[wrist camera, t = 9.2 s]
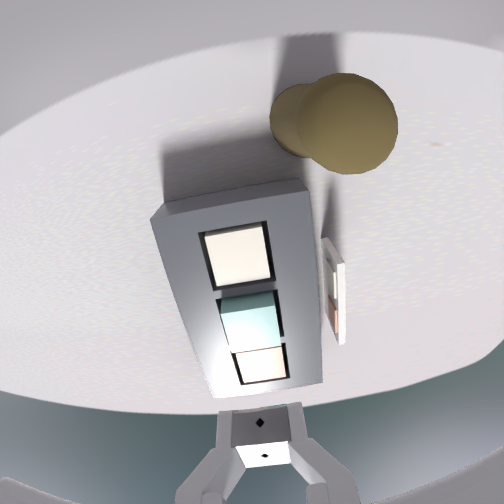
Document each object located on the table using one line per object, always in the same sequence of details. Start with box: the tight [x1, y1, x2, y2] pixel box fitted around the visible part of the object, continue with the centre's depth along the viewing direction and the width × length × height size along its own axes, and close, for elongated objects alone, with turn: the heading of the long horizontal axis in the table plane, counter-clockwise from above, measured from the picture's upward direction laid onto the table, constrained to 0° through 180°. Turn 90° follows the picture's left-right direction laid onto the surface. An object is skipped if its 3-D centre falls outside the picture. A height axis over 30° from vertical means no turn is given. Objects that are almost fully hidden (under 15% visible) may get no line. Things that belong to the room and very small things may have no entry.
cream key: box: [205, 221, 270, 286], centre depth 23 cm, size 4×4×3 cm
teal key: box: [220, 290, 281, 353], centre depth 24 cm, size 4×4×3 cm
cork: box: [270, 73, 398, 174], centre depth 17 cm, size 6×6×11 cm
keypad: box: [150, 178, 346, 398], centre depth 26 cm, size 13×19×5 cm
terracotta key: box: [236, 346, 286, 383], centre depth 28 cm, size 4×4×3 cm
